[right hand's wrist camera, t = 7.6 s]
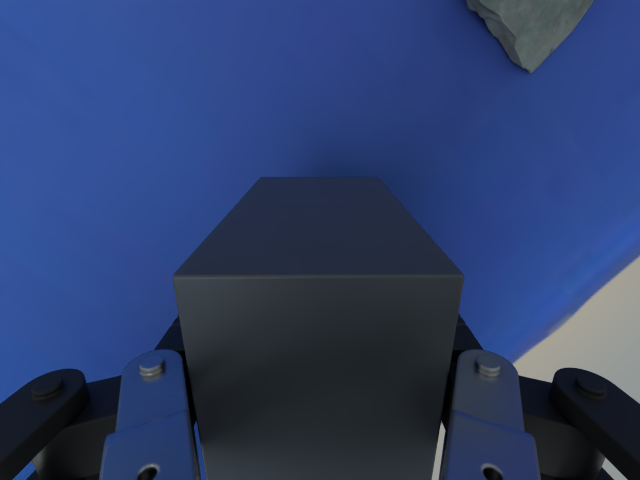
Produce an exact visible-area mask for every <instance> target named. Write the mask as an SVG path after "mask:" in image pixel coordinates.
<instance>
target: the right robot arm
mask: <svg viewBox="0 0 640 480" xmlns="http://www.w3.org/2000/svg"><path fill="white" fill-rule="evenodd" d="M441 420H442V423H443V425H444V428H445V430H446V431H445V437H444V444H443V451H442V459H441V466H440V474H439V480H614V479H613V478H612V477H611V476H610V475H609V474H608V473H607V472H606V471H605V470H604V469H603V468H602V464H603V462H604V459H605V457H606V458H607V459H608V460H609V461H610V462H611V463H612V464H613V465H614V466H615V467H616V468H617V469H618V470H619V471H620V472H621V473H622V474H623V475H624V476H625V477H626V478H627V479H628V480H640V404H639V403H638V402H636V401H635V400H634V399H633V398H631V397H630V396H629V395H627V394H626V393H625V392H623V391H622V390H621V389H620V388H618V387H617V386H616V385H614V384H613V383H612V382H610V381H608V380H607V379H605V378H603V377H601V376H599V375H597V374H595V373H592V372H589V371H586V370H582V369H578V368H562V369H560V370H558V371H557V372H556V373H555V375H554V378H553V381H552V383H550V382H545V381H541V380H536V379H531V378H527V377H523V376H519V375H518V372H517V370H516V368H515V367H514V366H513V365H512V364H511V363H510V362H509V361H508V360H506V359H505V358H503V357H502V356H500V355H498V354H495V353H493V352H489V351H485V350H483V348H482V347H481V345H480V344H479V343H478V341H477V340H476V338H475V337H474V335H473V334H472V332H471V331H470V329H469V328H468V326H466V325H465V322H464V321H463V319H462V318H460V315H459V313H458V319H457V325H456V331H455V337H454V343H453V350H452V356H451V362H450V368H449V374H448V381H447V387H446V393H445V399H444V405H443V411H442V418H441ZM195 422H196V414H195V408H194V402H193V396H192V390H191V384H190V378H189V372H188V366H187V361H186V355H185V349H184V343H183V337H182V331H181V325H180V319H179V315H178V318H176V319H175V321H174V322H173V324H172V326H171V327H170V328H169V329H168V331H167V332H166V334H165V335H164V337H163V338H162V340H161V341H160V342H159V344H158V345H157V347H156V348H155V350H154V351H151V352H147V353H145V354H142V355H140V356H138V357H137V358H135V359H134V360H132V361H131V362H130V363H129V364H128V365H127V366H126V367H125V368H124V370H123V372H122V375H120V376H117V377H113V378H109V379H104V380H100V381H95V382H91V383H86V380H85V376H84V374H83V373H82V372H81V371H79V370H76V369H61V370H56V371H53V372H50V373H47V374H44V375H42V376H39V377H37V378H35V379H34V380H32V381H30V382H29V383H27V384H26V385H24V386H23V387H22V388H20V389H19V390H18V391H16V392H15V393H14V394H13V395H11V396H10V397H9V398H7V399H6V400H5V401H4V402H2V403H1V404H0V480H12V479H13V478H14V477H15V476H16V475H17V474H18V473H19V472H20V471H21V470H22V469H23V468H24V467H25V466H26V465H27V464H28V463H29V462H30V461H31V460H32V462H33V465H34V467H35V471H34V472H33V473H32V474H31V475H30V476H29V477H28V478H27V479H26V480H201V474H200V466H199V459H198V451H197V444H196V437H195V431H194V425H195Z"/></svg>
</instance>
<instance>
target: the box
mask: <svg viewBox="0 0 640 480" xmlns="http://www.w3.org/2000/svg"><path fill="white" fill-rule="evenodd" d="M463 282H464V275H463V273H462V272H461V271H460V270H459V269H458V268H457V267H456V265H455V264H454V263H453V262H452V261H451V260H450V259H449V257H448V256H447V255H446V254H445V253H444V252H443V251H442V249H441V248H440V247H439V246H438V245H437V244H436V243H435V242H434V240H433V239H432V238H431V237H430V236H429V235H428V234H427V232H426V231H425V230H424V229H423V228H422V227H421V226H420V224H419V223H418V222H417V221H416V220H415V219H414V218H413V217H412V215H411V214H410V213H409V212H408V211H407V210H406V209H405V207H404V206H403V205H402V204H401V203H400V202H399V201H398V199H397V198H396V197H395V196H394V195H393V194H392V193H391V192H390V190H389V189H388V188H387V187H386V186H385V185H384V184H383V182H382V181H381V180H380V179H379V178H378V177H261V178H260V179H259V180H258V181H257V182H256V183H255V184H254V185H253V187H252V188H251V189H250V190H249V191H248V192H247V193H246V194H245V195H244V197H243V198H242V199H241V200H240V201H239V202H238V203H237V204H236V205H235V207H234V208H233V209H232V210H231V211H230V212H229V213H228V214H227V215H226V217H225V218H224V219H223V220H222V221H221V222H220V223H219V224H218V226H217V227H216V228H215V229H214V230H213V231H212V232H211V233H210V234H209V236H208V237H207V238H206V239H205V240H204V241H203V242H202V243H201V244H200V246H199V247H198V248H197V249H196V250H195V251H194V252H193V253H192V255H191V256H190V257H189V258H188V259H187V260H186V261H185V262H184V263H183V265H182V266H181V267H180V268H179V269H178V270H177V271H176V272H175V273H174V275H173V284H174V290H175V296H176V302H177V307H178V313H179V319H180V325H181V331H182V337H183V343H184V349H185V355H186V361H187V366H188V372H189V378H190V384H191V390H192V396H193V402H194V408H195V414H196V420H197V425H198V431H199V437H200V443H201V449H202V455H203V461H204V467H205V473H206V479H207V480H431V479H432V473H433V467H434V461H435V454H436V448H437V442H438V436H439V430H440V424H441V418H442V411H443V405H444V399H445V393H446V387H447V381H448V374H449V368H450V362H451V356H452V350H453V343H454V337H455V331H456V325H457V319H458V313H459V306H460V300H461V294H462V288H463Z"/></svg>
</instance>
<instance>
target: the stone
mask: <svg viewBox="0 0 640 480" xmlns="http://www.w3.org/2000/svg"><path fill="white" fill-rule="evenodd" d="M466 1H467V6H468V8H469V9H470V10H473V11H476V12H477V13H478V14H479V16H480V17H482V18H483V19H484V20H485V23H486V25H487V27H488V29H489V30H490V31H491V33H492V35H493V36H495V37H496V38H497V39H499V41H500V43H501V44H502V45H503V47H504V49H505V51H506V52H507V54H508V56H509V58H510V59H511V60H512V61H513V62H514V63H515V64H518V65H519V66H520V67H522V68H524V69H526V70H528V72H529V73H532V72H533V71H534V70H536V68H537V67H538V66H540V65H541V63H542V62H543V61H544V60H545V59H546V58H547V57H548V56H549V55H550V54H551V53H552V52H553V51H554V50H555V49H556V48H557V47H558V46H559V45H560V44H561V43H562V42H563V41H564V40H565V38H566V37H567V36H568V35H569V34H570V33H571V32H572V31H573V30H574V28H575V27H576V25H577V24H578V23H579V21H580V20H581V19H582V17H583V16H584V14H585V13H586V12H587V10H588V9H589V7H590V6H591V4H592V3H593V1H594V0H466Z"/></svg>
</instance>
